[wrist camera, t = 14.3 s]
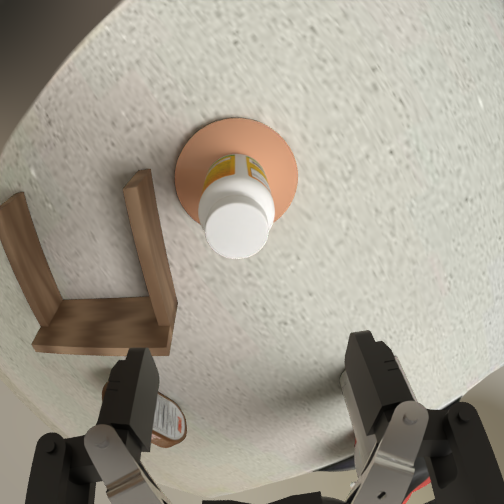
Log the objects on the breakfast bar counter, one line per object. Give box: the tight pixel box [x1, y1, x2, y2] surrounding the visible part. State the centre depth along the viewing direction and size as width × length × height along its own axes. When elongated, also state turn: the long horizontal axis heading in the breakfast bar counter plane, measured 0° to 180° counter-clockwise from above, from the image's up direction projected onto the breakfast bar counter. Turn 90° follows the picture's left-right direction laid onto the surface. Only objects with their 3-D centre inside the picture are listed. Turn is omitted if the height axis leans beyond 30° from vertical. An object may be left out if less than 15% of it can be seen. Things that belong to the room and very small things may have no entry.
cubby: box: [0, 169, 178, 356], centre depth 28 cm, size 16×16×8 cm
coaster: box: [175, 118, 298, 224], centre depth 29 cm, size 11×11×1 cm
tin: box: [102, 381, 187, 448], centre depth 42 cm, size 15×3×8 cm, turn 37°
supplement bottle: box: [198, 154, 275, 259], centre depth 24 cm, size 5×5×10 cm
